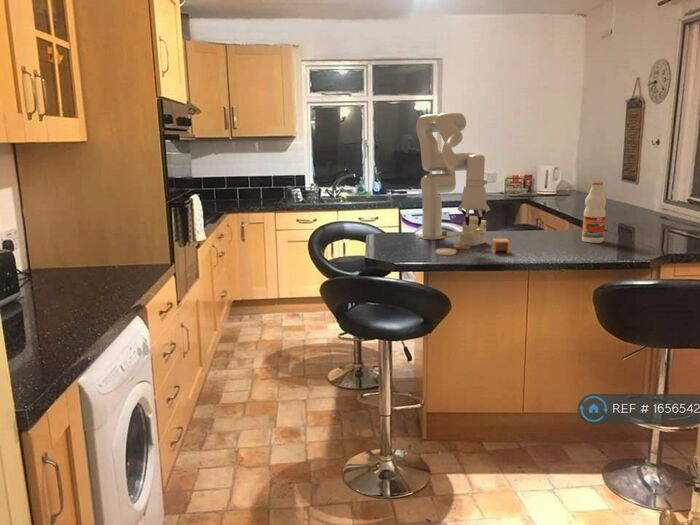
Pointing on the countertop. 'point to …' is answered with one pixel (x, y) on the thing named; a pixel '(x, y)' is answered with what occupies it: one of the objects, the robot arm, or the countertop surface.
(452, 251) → the dish
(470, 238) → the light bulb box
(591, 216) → the fruit juice
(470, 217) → the block
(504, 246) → the reddish brown box
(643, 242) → the countertop surface
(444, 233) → the balance
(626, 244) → the countertop surface
